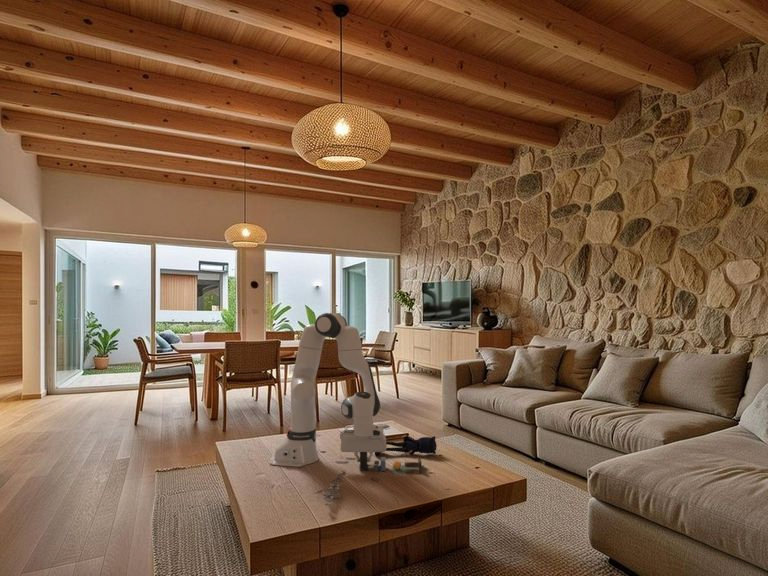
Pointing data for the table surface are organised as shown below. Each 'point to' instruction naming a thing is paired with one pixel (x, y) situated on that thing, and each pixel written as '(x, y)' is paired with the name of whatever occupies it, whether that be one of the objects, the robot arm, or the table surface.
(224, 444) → the table surface
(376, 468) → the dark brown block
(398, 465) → the ball
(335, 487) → the carved scroll ornament
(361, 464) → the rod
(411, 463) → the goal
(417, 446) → the toy
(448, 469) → the table surface
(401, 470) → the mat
